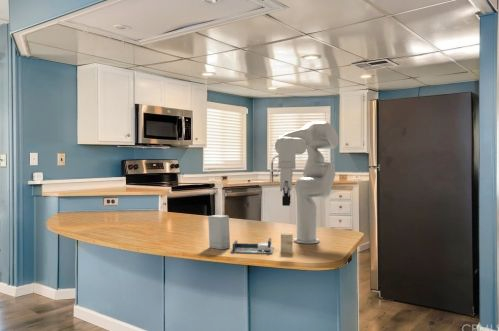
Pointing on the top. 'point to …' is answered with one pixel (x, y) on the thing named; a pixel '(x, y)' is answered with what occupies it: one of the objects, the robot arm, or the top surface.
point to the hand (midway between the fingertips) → (286, 204)
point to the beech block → (286, 242)
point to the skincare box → (219, 231)
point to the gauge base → (249, 248)
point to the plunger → (265, 246)
